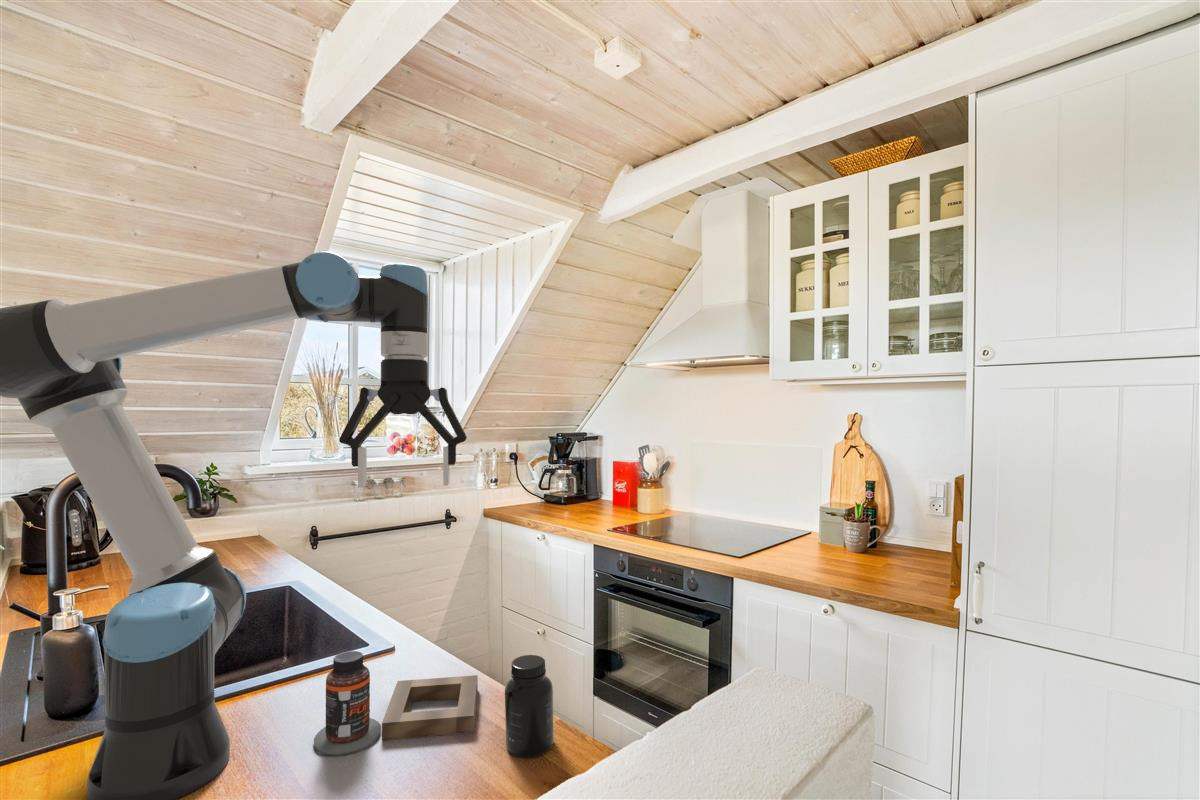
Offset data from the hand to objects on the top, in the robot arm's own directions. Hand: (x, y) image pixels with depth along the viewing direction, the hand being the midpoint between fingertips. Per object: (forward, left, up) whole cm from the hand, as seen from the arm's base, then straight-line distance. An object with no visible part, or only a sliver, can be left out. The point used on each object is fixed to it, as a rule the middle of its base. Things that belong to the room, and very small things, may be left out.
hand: (404, 485), depth 101 cm
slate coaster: (-6, -13, -35) cm, 38 cm away
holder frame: (+5, -8, -35) cm, 36 cm away
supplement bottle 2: (+20, -19, -35) cm, 44 cm away
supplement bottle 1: (-6, -13, -34) cm, 37 cm away
